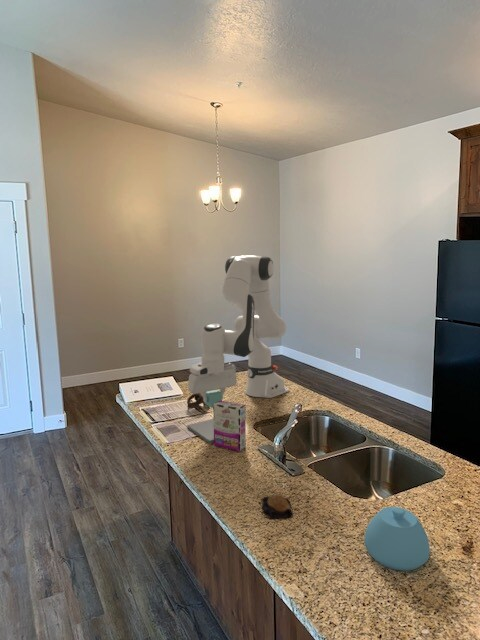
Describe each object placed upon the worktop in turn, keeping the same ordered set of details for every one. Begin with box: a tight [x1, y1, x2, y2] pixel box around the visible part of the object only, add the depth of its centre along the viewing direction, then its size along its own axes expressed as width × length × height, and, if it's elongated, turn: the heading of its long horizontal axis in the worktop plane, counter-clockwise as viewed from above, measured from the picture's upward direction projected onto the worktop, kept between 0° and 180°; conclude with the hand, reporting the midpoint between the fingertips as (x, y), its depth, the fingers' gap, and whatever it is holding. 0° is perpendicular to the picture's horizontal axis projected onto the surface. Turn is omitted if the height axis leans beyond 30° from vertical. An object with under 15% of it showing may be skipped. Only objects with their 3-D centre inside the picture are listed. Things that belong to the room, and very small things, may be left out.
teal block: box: [205, 389, 223, 408], centre depth 181 cm, size 5×5×5 cm
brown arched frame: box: [186, 393, 211, 410], centre depth 209 cm, size 12×9×8 cm
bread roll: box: [260, 494, 294, 521], centre depth 131 cm, size 11×8×4 cm
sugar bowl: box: [363, 506, 431, 572], centre depth 112 cm, size 15×15×12 cm
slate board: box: [187, 418, 214, 445], centre depth 184 cm, size 14×18×1 cm
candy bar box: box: [212, 400, 247, 453], centre depth 169 cm, size 11×5×16 cm, turn 62°
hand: (213, 400), depth 181 cm, fingers closed on teal block, 5 cm apart
